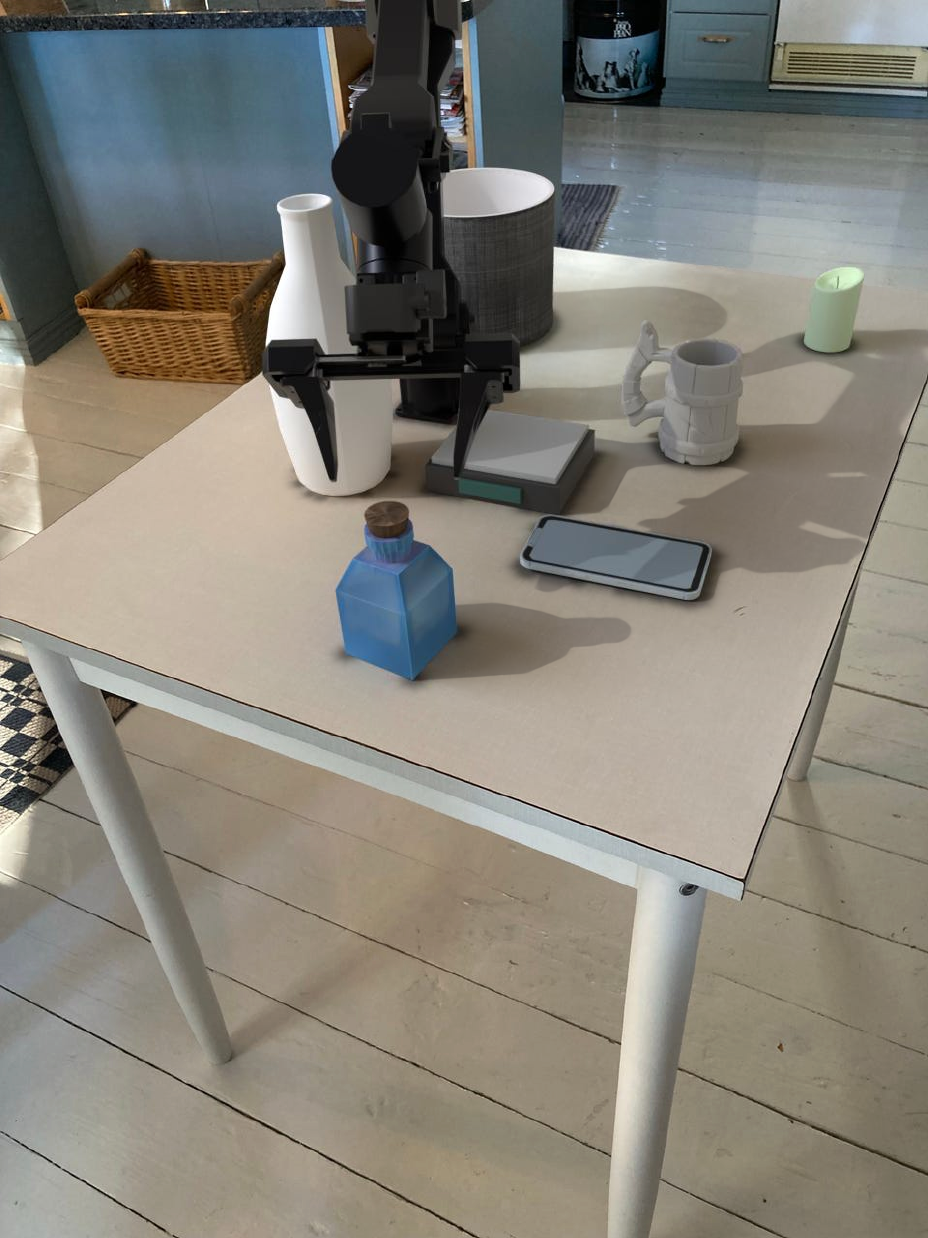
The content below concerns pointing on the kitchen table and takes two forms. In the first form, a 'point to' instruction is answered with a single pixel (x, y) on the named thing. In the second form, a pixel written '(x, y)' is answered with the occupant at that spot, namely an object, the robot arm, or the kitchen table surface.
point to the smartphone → (617, 556)
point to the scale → (516, 462)
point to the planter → (502, 248)
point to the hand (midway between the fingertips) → (394, 479)
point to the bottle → (318, 312)
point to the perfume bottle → (396, 596)
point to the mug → (688, 396)
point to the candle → (833, 309)
